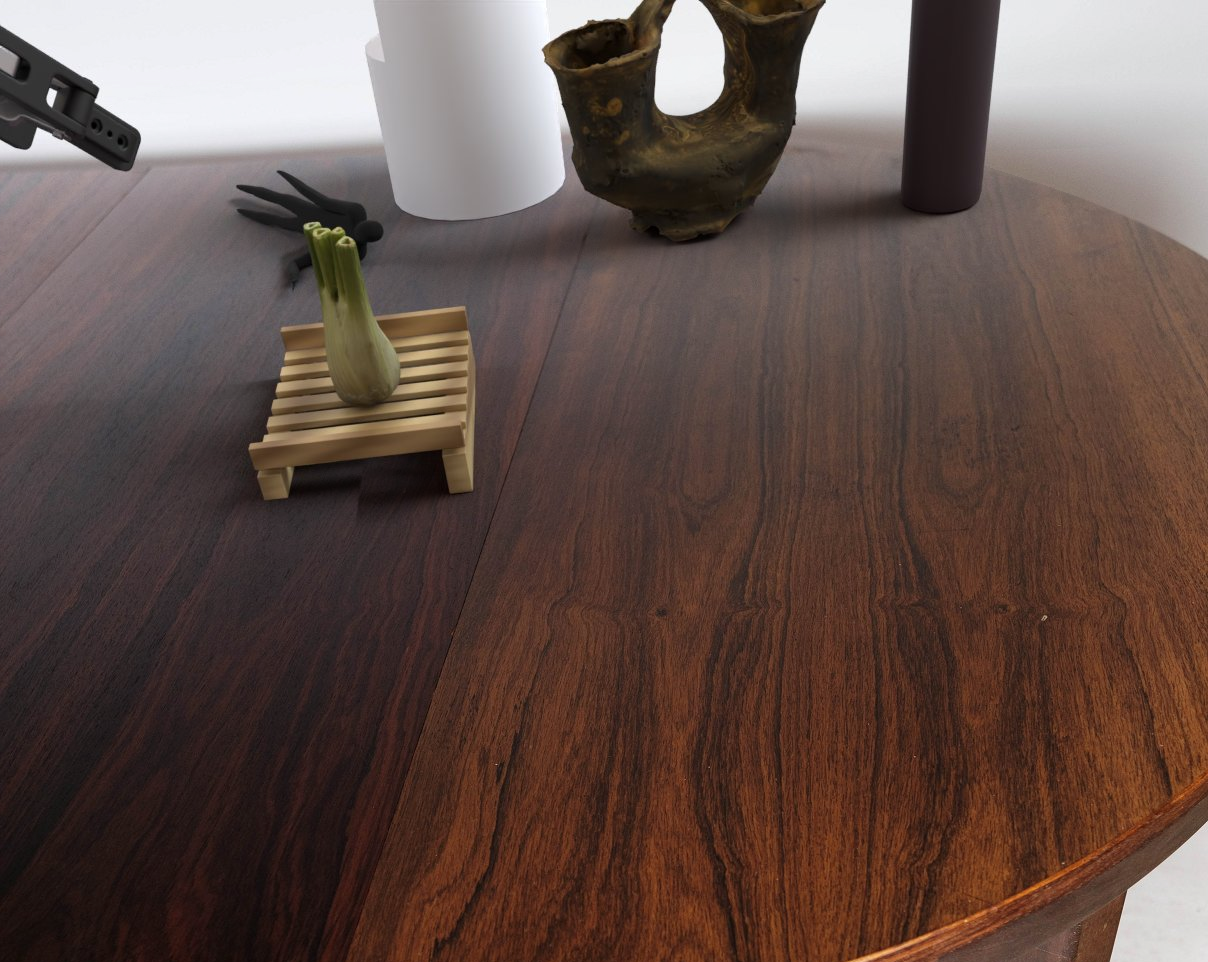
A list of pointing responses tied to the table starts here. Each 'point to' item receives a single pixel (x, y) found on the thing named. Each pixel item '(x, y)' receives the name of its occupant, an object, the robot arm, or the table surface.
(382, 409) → the drying rack
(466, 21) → the cylinder
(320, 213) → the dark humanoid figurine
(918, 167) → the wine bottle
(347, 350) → the fennel bulb
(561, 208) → the table surface
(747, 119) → the pottery vessel
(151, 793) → the table surface
